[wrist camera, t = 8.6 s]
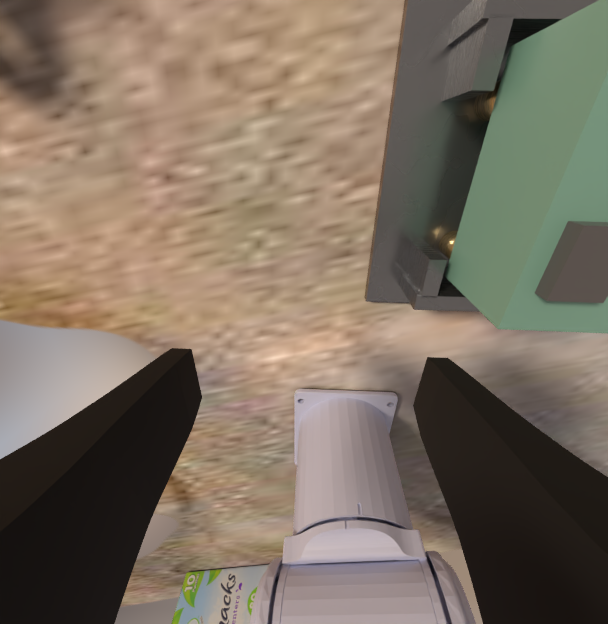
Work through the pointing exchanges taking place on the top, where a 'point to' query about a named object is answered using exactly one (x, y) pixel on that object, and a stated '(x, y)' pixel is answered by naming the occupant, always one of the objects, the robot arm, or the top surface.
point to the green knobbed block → (543, 186)
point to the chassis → (441, 137)
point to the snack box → (218, 596)
